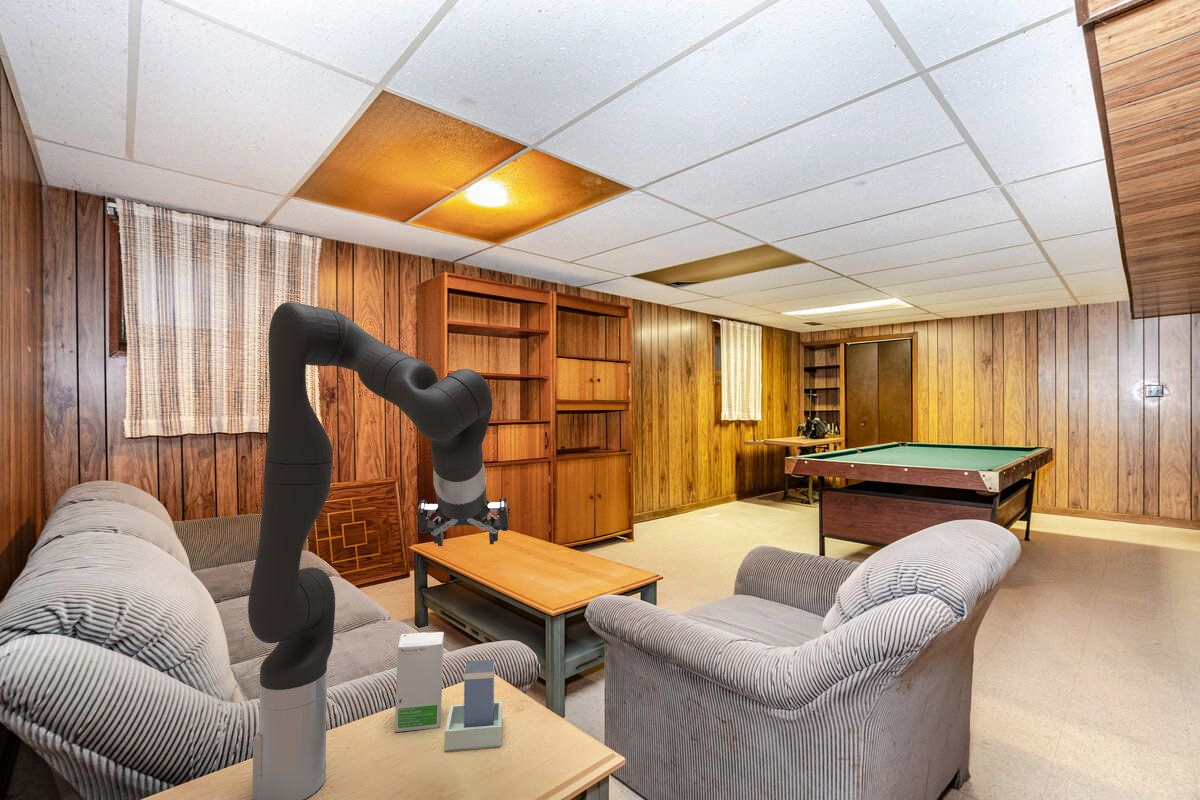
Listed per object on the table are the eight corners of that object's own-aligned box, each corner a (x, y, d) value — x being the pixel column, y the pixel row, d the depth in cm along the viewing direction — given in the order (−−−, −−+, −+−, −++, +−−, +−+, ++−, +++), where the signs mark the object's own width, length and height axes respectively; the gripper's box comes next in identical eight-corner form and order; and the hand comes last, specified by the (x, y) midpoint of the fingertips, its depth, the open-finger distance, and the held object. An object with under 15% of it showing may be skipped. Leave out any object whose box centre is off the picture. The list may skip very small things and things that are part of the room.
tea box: (463, 742, 96) (464, 674, 97) (466, 726, 101) (466, 661, 102) (492, 740, 97) (493, 672, 97) (493, 724, 102) (494, 659, 102)
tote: (444, 752, 94) (444, 731, 94) (450, 723, 103) (450, 705, 103) (501, 746, 96) (501, 726, 96) (502, 719, 104) (502, 700, 104)
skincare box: (394, 733, 100) (394, 647, 100) (398, 714, 106) (399, 633, 106) (441, 727, 102) (442, 643, 102) (443, 708, 108) (443, 629, 108)
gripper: (508, 462, 86) (508, 521, 97) (414, 463, 84) (426, 523, 95) (507, 501, 81) (508, 558, 92) (407, 504, 79) (420, 562, 90)
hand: (466, 540), depth 94 cm, fingers open, 8 cm apart
